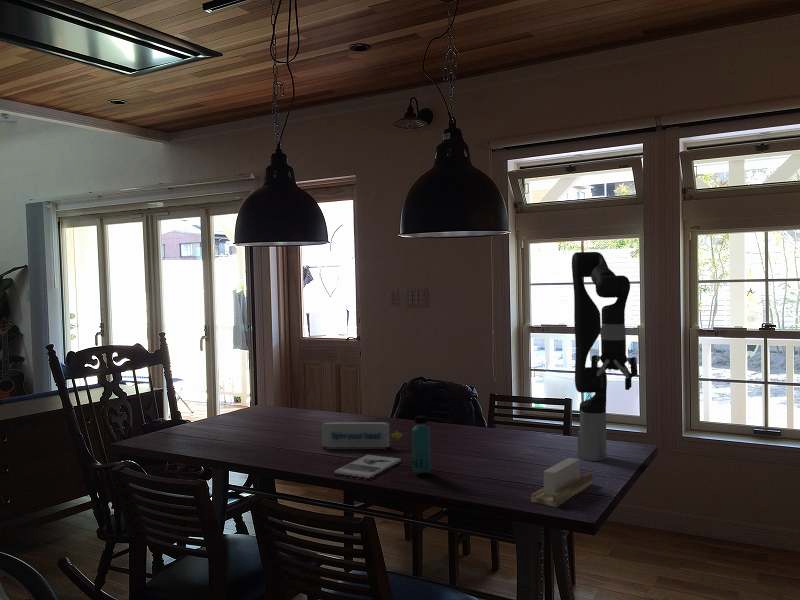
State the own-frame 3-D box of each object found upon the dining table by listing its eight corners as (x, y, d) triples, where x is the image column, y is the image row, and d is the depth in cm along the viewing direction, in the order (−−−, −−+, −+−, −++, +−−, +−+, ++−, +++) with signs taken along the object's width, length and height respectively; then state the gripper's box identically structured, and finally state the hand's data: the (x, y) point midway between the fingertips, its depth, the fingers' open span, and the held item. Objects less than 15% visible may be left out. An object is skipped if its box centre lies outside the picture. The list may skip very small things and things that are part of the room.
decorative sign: (321, 449, 257) (320, 424, 257) (323, 446, 261) (323, 422, 261) (401, 449, 254) (401, 424, 254) (402, 447, 258) (402, 422, 257)
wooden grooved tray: (531, 501, 190) (530, 490, 190) (568, 479, 210) (568, 469, 210) (556, 507, 185) (556, 495, 185) (591, 484, 205) (591, 473, 205)
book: (369, 481, 215) (369, 475, 215) (334, 476, 221) (334, 470, 221) (400, 463, 235) (400, 458, 235) (367, 459, 242) (367, 454, 242)
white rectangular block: (543, 494, 192) (543, 471, 191) (569, 479, 206) (568, 457, 205) (554, 496, 189) (554, 473, 189) (579, 481, 203) (579, 459, 203)
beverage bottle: (431, 471, 223) (430, 413, 222) (431, 477, 216) (430, 417, 216) (412, 471, 223) (411, 414, 223) (412, 477, 216) (411, 418, 216)
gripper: (639, 337, 204) (640, 388, 204) (596, 336, 213) (597, 385, 213) (631, 339, 198) (632, 392, 199) (587, 338, 207) (588, 388, 207)
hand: (614, 388), depth 206 cm, fingers open, 8 cm apart
